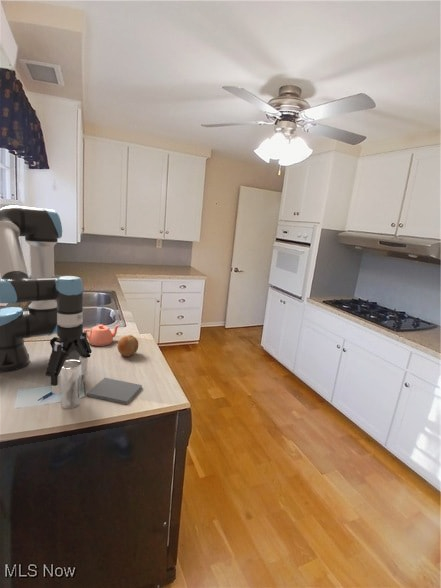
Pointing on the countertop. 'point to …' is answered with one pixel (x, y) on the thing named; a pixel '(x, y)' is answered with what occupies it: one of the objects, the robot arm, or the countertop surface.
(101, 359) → the countertop surface
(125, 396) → the slate board
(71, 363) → the beer glass
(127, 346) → the onion
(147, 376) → the countertop surface
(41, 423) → the countertop surface
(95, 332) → the teapot
